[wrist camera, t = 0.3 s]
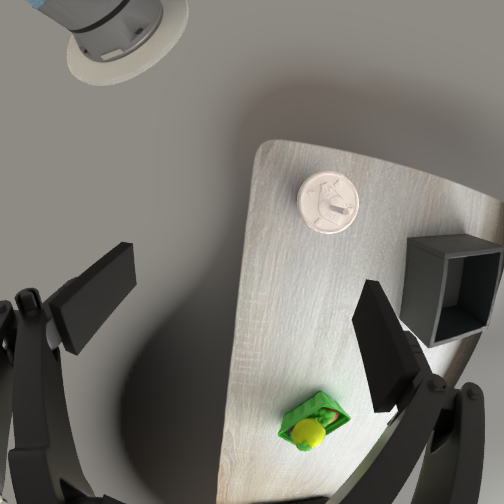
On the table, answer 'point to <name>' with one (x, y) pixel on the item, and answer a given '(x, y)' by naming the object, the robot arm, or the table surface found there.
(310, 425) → the fruit basket
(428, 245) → the bin
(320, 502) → the portable speaker
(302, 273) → the table surface
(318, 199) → the smoothie
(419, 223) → the table surface
